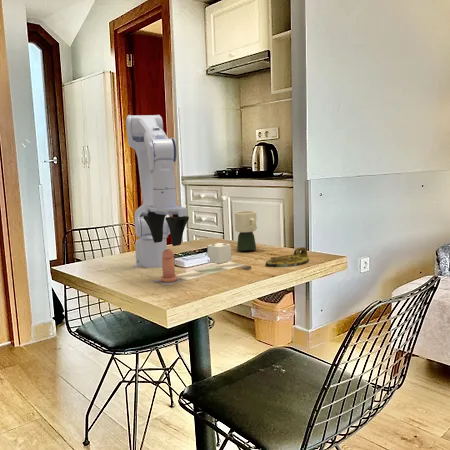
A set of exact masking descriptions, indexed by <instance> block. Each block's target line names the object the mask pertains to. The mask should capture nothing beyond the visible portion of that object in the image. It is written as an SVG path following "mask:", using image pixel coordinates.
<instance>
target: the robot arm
mask: <svg viewBox="0 0 450 450" xmlns="http://www.w3.org/2000/svg"><path fill="white" fill-rule="evenodd" d="M125 127H126V129H125V130H126V137H127V143H128V146H129V147H130V148H131V149H133V150H134V151H135V154H136V157H137V164H138V171H139V172H138V173H139V175H138V176H139V182H140V190H141V200H142V204H141V205H140V206H139V207H138V208H137V209H136V210H135V211H134V223H133V224H134V232H135V236H136V237H137V238H138V239H137V240H136V242H135V246H134V249H135V264H136V265H133V268H139V267H143V268H147V269H153V268H157V269H158V268H162V258H163V257H162V253H163V251H164V250H166V249H168V246H167V238H168V237H169V235H170V239H171V240H170V241H171V245H172V247H176V246H177V247H178V246H181V244H182V241H183V235H184V231H185V227H186V225H187V223H188V222H189V219H190V217H189V215H188V208H187V207H184V206H180V205H178V202H177V189H176V188H177V187H176V186H177V183H176V167H175V164H176V161H177V159H178V158H177V157H178V148H177V143H176V140H175V138H174V137H170V138H169V137H168V136H167V133H166V132H165V131H164V122H163V117H162V116H161V115H160V114H153V115H151V114H149V115H148V114H147V115H146V114H145V115H143V114H141V115H140V114H138V115H137V114H136V115H133V114H132V115H131V114H128V115H127V116H126V120H125Z"/></svg>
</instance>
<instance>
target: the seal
mask: <svg viewBox="0 0 450 450" xmlns="http://www.w3.org/2000/svg"><path fill="white" fill-rule="evenodd" d="M308 263H310V257H309V255H308V249H307V248H306V247H305V246H304V247H303V246H302V247H296V248H295V249H294V251H293V254H287V255H281V256H273V257H270V258H269V259H268V260H266V261H265V265H264V266H265V267H272V268H290V267H291V268H292V267H293V268H294V267H298V266H302V265H305V264H308Z"/></svg>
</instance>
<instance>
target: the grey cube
mask: <svg viewBox="0 0 450 450" xmlns="http://www.w3.org/2000/svg"><path fill="white" fill-rule="evenodd" d="M206 247H207V258H208V257H209V258H210V263H214V264H215V263H216V264H218V263H222V262H232V244H229V243H222V242H218V243H212V244H207V246H206Z"/></svg>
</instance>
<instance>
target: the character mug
mask: <svg viewBox="0 0 450 450" xmlns="http://www.w3.org/2000/svg"><path fill="white" fill-rule="evenodd" d="M257 228H258V227H257V211H256V210H240V211H235V212H234V230H235V232H237V233H238V236H237V246H236V247H237V248H236V249H237V251H247V252H250V251H255V250H257V245H256V244H257V243H256V238H255V235H254V232H255V231H256V230H257Z"/></svg>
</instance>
